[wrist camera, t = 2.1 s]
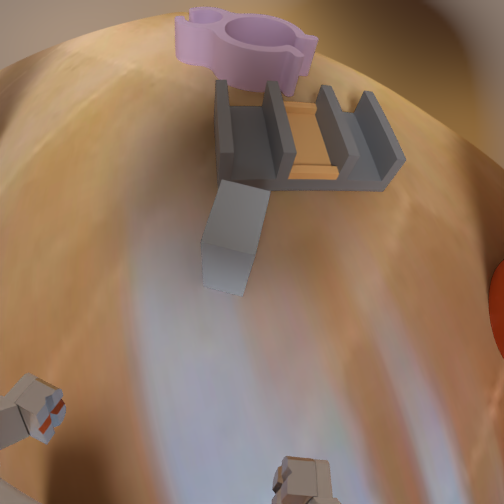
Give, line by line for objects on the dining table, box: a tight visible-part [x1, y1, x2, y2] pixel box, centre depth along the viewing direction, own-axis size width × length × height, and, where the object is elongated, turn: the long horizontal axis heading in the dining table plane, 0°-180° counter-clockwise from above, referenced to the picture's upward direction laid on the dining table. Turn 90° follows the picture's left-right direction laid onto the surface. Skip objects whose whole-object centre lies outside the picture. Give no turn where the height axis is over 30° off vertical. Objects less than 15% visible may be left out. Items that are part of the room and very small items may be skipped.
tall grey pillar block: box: [201, 180, 271, 296], centre depth 25 cm, size 4×5×9 cm
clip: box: [175, 7, 318, 97], centre depth 40 cm, size 20×12×7 cm, turn 65°
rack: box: [214, 80, 406, 192], centre depth 33 cm, size 19×11×6 cm, turn 96°
